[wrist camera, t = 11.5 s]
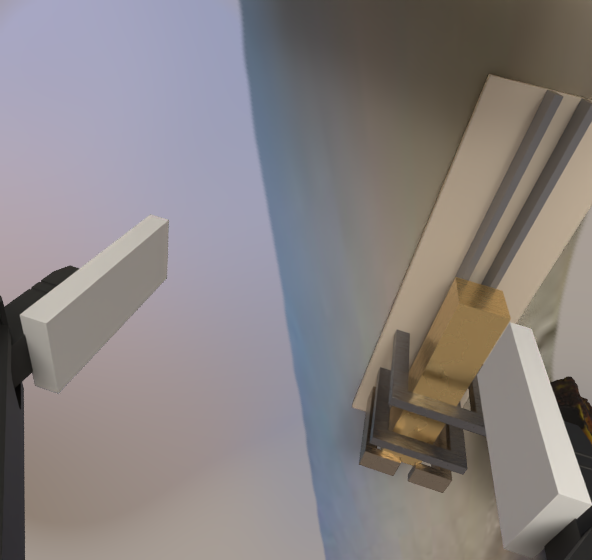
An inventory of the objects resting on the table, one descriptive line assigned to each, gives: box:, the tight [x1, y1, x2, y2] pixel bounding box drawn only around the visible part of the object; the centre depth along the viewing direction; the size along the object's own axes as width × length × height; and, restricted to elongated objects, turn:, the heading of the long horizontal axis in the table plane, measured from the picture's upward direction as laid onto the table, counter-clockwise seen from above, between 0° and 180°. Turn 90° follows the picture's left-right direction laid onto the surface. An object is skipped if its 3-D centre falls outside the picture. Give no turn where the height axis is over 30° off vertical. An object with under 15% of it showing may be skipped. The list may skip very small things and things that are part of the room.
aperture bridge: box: [359, 386, 452, 493], centre depth 50 cm, size 2×9×10 cm, turn 78°
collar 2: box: [370, 367, 467, 475], centre depth 47 cm, size 1×10×11 cm, turn 78°
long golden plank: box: [381, 277, 511, 466], centre depth 45 cm, size 22×4×4 cm, turn 168°
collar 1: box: [388, 330, 486, 436], centre depth 44 cm, size 1×10×11 cm, turn 79°
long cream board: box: [352, 74, 592, 412], centre depth 44 cm, size 40×12×3 cm, turn 168°
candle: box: [550, 377, 592, 444], centre depth 47 cm, size 10×10×10 cm
